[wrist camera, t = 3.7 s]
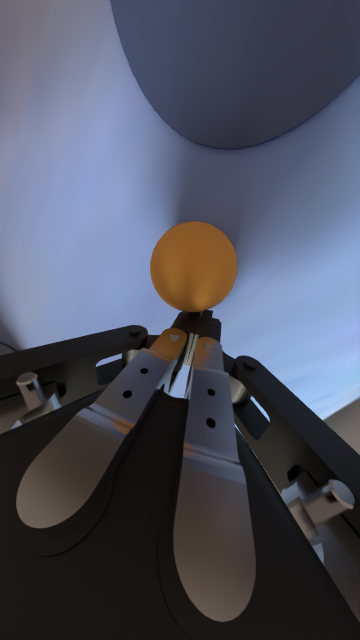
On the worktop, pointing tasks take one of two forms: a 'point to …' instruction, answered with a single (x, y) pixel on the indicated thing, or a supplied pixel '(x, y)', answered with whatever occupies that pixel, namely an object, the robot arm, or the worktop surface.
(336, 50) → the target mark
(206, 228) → the ball
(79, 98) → the worktop surface
